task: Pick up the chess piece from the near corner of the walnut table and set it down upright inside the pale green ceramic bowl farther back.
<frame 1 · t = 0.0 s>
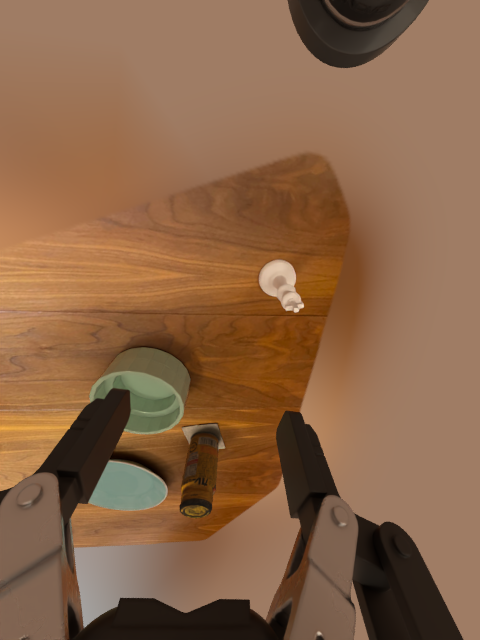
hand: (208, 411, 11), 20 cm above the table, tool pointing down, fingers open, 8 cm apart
plate: (123, 474, 51), on the table
chess piece: (276, 277, 29), on the table
condiment: (204, 436, 44), on the table
bowl: (152, 376, 36), on the table
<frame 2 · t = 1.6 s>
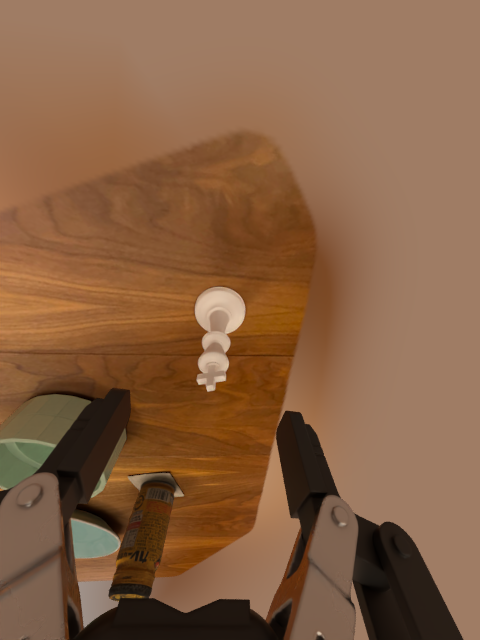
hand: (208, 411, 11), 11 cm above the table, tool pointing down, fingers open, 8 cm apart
plate: (70, 520, 43), on the table
chess piece: (220, 309, 21), on the table
condiment: (157, 484, 37), on the table
bowl: (77, 425, 29), on the table
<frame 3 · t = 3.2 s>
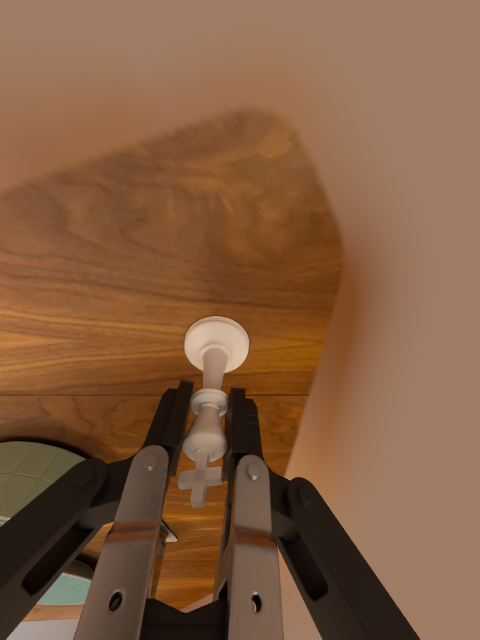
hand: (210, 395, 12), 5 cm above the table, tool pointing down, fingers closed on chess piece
plate: (50, 564, 38), on the table
chess piece: (217, 342, 16), on the table, touching gripper
condiment: (147, 528, 32), on the table
bowl: (48, 471, 24), on the table
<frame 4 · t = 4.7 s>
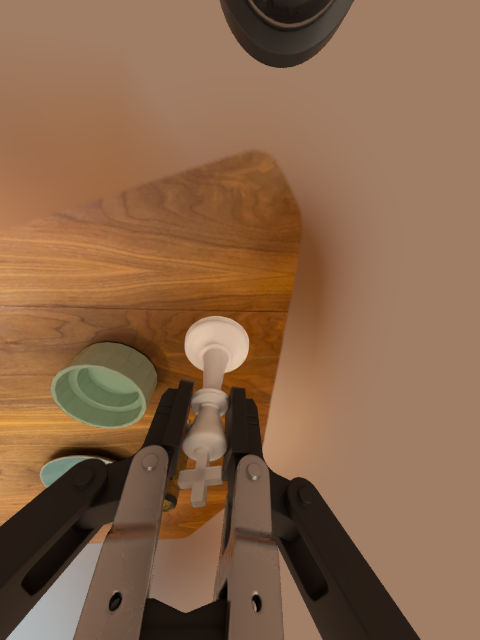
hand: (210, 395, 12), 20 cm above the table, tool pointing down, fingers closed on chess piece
plate: (99, 471, 51), on the table
chess piece: (217, 342, 17), point 15 cm above the table, touching gripper
condiment: (177, 432, 45), on the table
bowl: (119, 372, 36), on the table
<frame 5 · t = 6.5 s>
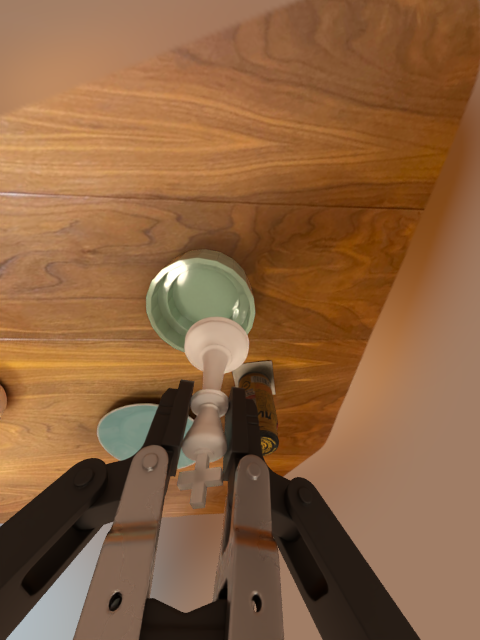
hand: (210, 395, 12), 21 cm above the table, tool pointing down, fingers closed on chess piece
plate: (157, 428, 46), on the table
chess piece: (217, 343, 17), point 16 cm above the table, touching gripper
condiment: (253, 379, 40), on the table
bowl: (206, 295, 31), on the table
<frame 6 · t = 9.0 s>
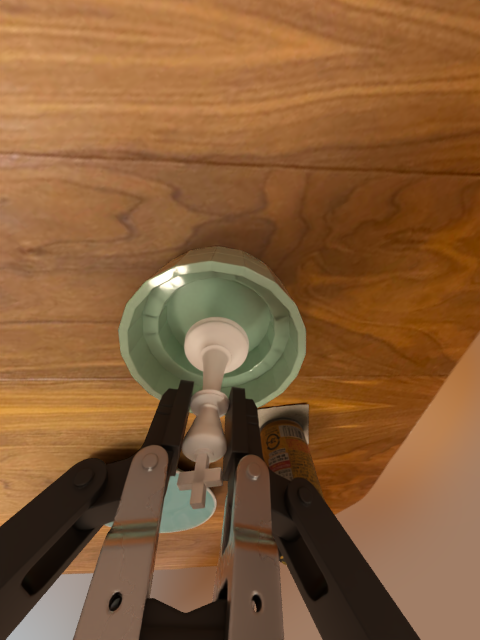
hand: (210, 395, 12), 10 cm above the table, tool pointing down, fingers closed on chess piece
plate: (150, 483, 35), on the table
chess piece: (217, 343, 16), point 5 cm above the table, touching gripper
condiment: (280, 425, 29), on the table
bowl: (219, 316, 21), on the table
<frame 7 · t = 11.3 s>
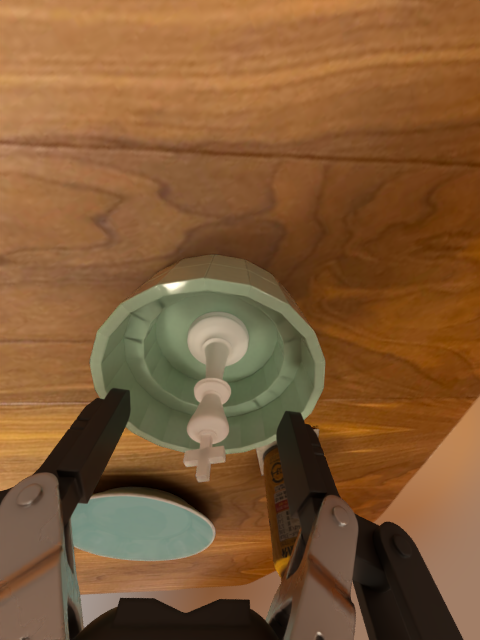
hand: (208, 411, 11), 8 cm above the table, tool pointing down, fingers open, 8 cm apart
plate: (143, 508, 32), on the table
chess piece: (218, 337, 17), resting on bowl
condiment: (286, 450, 26), on the table
bowl: (217, 334, 18), on the table
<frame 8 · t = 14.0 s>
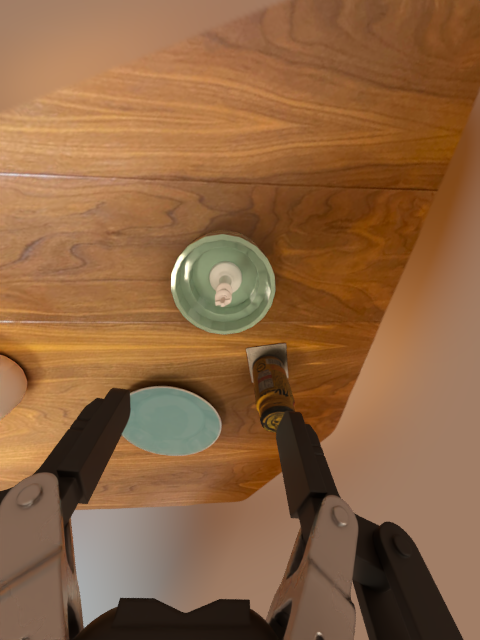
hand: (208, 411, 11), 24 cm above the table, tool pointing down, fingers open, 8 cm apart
plate: (172, 413, 47), on the table
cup: (1, 368, 40), on the table
chess piece: (225, 277, 32), resting on bowl
condiment: (267, 362, 41), on the table
bowl: (225, 276, 32), on the table
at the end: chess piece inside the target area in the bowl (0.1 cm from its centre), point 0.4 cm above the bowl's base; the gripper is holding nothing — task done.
